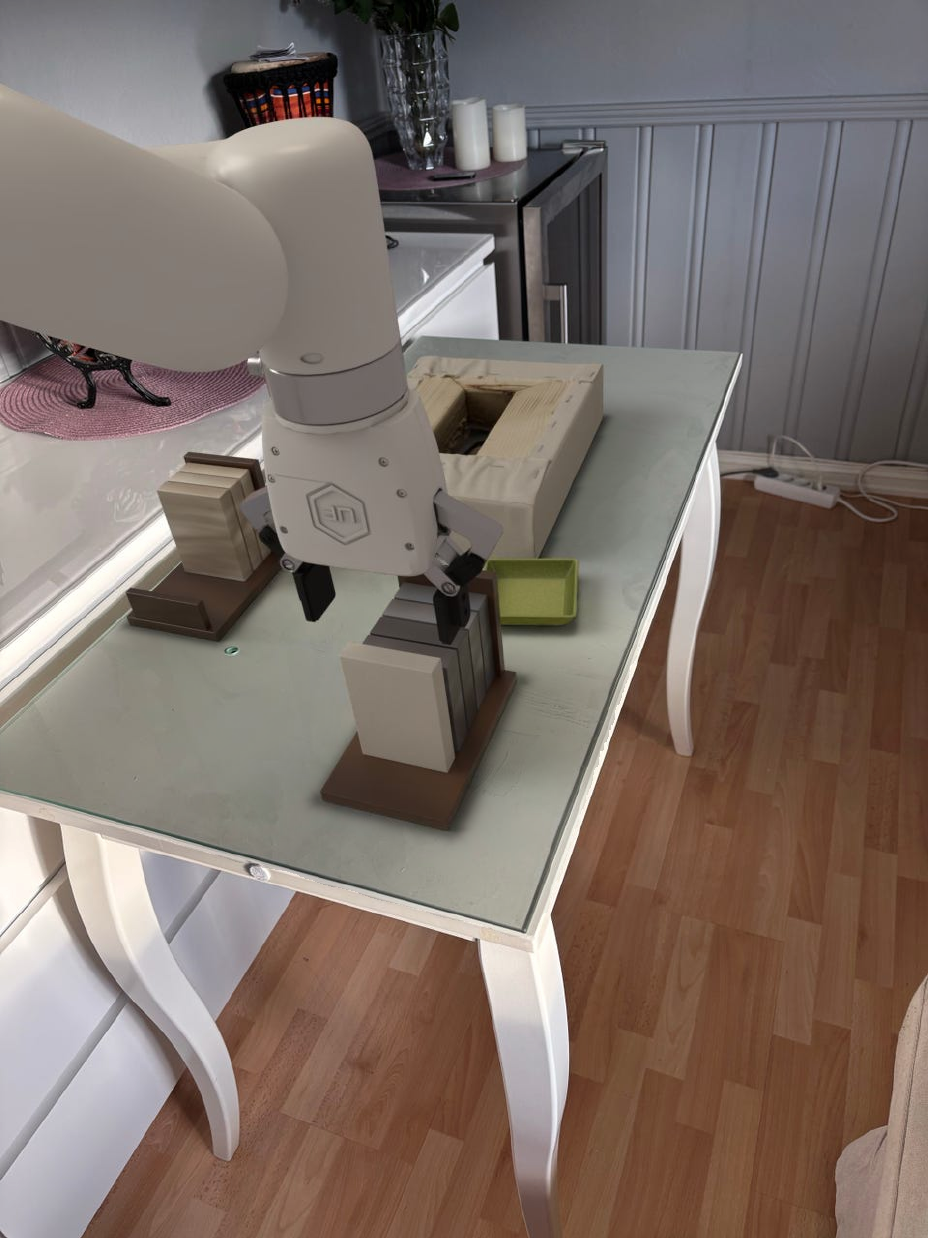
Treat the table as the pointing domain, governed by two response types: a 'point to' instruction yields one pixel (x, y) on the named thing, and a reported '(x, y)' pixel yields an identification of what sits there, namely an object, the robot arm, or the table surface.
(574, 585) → the green tray
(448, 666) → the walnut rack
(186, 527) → the dark brown rack
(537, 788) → the table surface
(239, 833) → the table surface
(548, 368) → the box
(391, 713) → the cream book
